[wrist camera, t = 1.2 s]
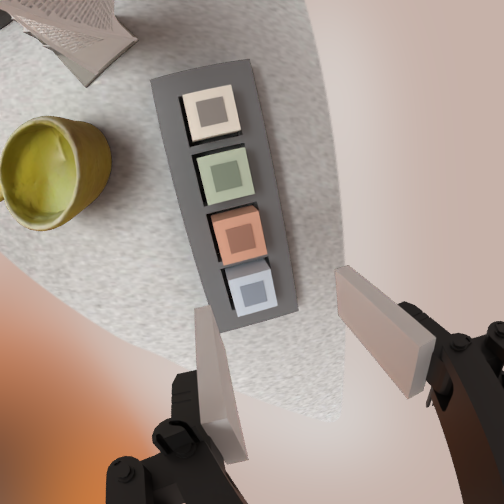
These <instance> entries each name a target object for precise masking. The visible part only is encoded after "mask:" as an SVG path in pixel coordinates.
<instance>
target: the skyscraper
mask: <svg viewBox="0 0 504 504" xmlns="http://www.w3.org/2000/svg"><path fill="white" fill-rule="evenodd" d="M0 9H1V10H4V11H6V12H8V13H9V14H10V15H11V16H12V20H14V21H16V22H18V23H20V24H21V25H22V26H23V32H24V33H26V34H28V35H30V36H32V37H34V38H36V39H38V40H39V41H40V42H41V43H42V44H43V47H46V48H48V49H50V50H52V51H53V52H54V53H55V54H56V55H57V56H58V58H59V59H60V60H61V61H62V62H63V63H64V64H65V65H66V66H67V68H68V69H69V70H70V71H71V72H72V73H73V74H74V75H75V76H76V77H77V79H78V80H79V81H80V82H81V83H82V84H83V85H84V86H85V87H87V86H88V85H89V84H90V83H91V82H92V81H93V80H94V79H95V78H96V77H97V76H98V75H100V74H101V73H102V72H103V71H104V70H105V69H106V68H107V67H108V66H109V65H110V64H111V63H113V62H114V61H115V60H116V59H117V58H118V57H119V56H120V55H122V54H123V53H124V52H125V51H126V50H128V49H129V48H130V47H131V46H132V45H134V44H135V43H136V42H137V41H139V40H138V38H137V37H135V36H134V35H133V34H132V33H131V32H130V31H129V30H128V29H127V28H126V27H125V26H124V25H123V24H122V23H121V22H119V21H118V20H117V19H116V17H115V15H114V0H0Z"/></svg>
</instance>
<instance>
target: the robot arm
mask: <svg viewBox="0 0 504 504" xmlns="http://www.w3.org/2000/svg"><path fill="white" fill-rule="evenodd" d="M11 21H12V16H11V15H10V14H9V13H8V12H6V11H4V10H1V9H0V29H1V28H2V27H4V26H5V25H7V24H8V23H9V22H11ZM335 279H336V291H337V304H338V316H339V317H340V318H341V319H342V320H343V322H344V323H345V324H346V325H347V326H348V327H349V328H350V330H351V331H352V332H353V333H354V335H355V336H356V337H357V338H358V339H359V340H360V342H361V343H362V344H363V345H364V346H365V348H366V349H367V350H368V351H369V353H370V354H371V355H372V356H373V357H374V358H375V360H376V361H377V362H378V363H379V365H380V366H381V367H382V368H383V370H384V371H385V372H386V373H387V374H388V376H389V377H390V378H391V379H392V380H393V382H394V383H395V384H396V385H397V386H398V388H399V389H400V390H401V392H402V393H403V394H404V395H405V397H406V398H407V399H409V398H411V397H413V396H414V395H416V394H418V393H420V392H422V391H423V389H424V386H425V382H426V381H427V382H428V383H429V384H430V385H431V389H430V392H429V396H428V399H427V401H426V407H429V405H430V402H431V400H432V401H433V404H432V406H433V405H434V407H435V409H436V412H437V415H438V418H439V420H440V423H441V426H442V429H443V432H444V435H445V438H446V441H447V444H448V447H449V451H450V454H451V457H452V461H453V464H454V468H455V471H456V475H457V479H458V482H459V486H460V490H461V494H462V499H463V503H464V504H504V371H502V368H503V366H504V322H502V321H496V322H493V323H491V324H490V326H489V327H488V330H487V334H486V335H482V336H480V337H476V338H471V337H470V336H467V335H465V334H461V333H456V334H450V333H449V332H448V331H446V330H445V329H444V328H443V327H441V326H440V325H439V324H438V323H437V322H435V321H434V320H433V319H432V318H429V316H428V315H427V314H425V313H423V312H422V310H420V309H419V308H418V307H416V306H415V305H413V304H410V303H407V302H405V301H404V302H402V303H399V304H396V303H395V302H394V301H392V300H391V299H390V298H389V297H387V296H386V295H385V294H384V293H383V292H381V291H380V290H379V289H378V288H376V287H375V286H374V285H373V284H371V283H370V282H369V281H368V280H366V279H365V278H364V277H363V276H361V275H360V274H359V273H358V272H356V271H355V270H354V269H353V268H351V267H350V266H349V265H347V266H344V267H340V268H337V269H335ZM194 313H195V342H196V363H197V370H194V371H189V372H185V373H181V374H177V376H176V378H175V380H174V381H173V384H172V406H171V408H172V409H171V418H169V419H166V420H164V421H163V422H161V423H160V424H159V425H158V426H157V427H156V428H155V429H154V432H153V435H152V440H153V444H155V446H156V447H157V448H158V449H159V450H160V453H158V454H157V455H155V456H152V457H149V458H147V459H144V460H142V461H139V460H138V459H136V458H134V457H131V456H124V457H120V458H117V459H116V460H114V461H113V462H112V463H111V464H110V466H109V467H108V471H107V477H106V504H183V503H186V504H248V503H247V502H246V500H245V499H244V497H243V496H242V494H241V493H240V491H239V490H238V488H237V487H236V485H235V484H234V482H233V481H232V479H231V478H230V476H229V475H228V473H227V472H226V470H225V465H224V461H225V462H226V463H227V464H232V463H237V462H242V461H246V460H248V455H247V451H246V447H245V442H244V438H243V433H242V429H241V425H240V420H239V416H238V411H237V406H236V401H235V397H234V391H233V386H232V382H231V376H230V371H229V366H228V361H227V356H226V350H225V347H224V344H223V341H222V338H221V336H220V333H219V330H218V327H217V324H216V321H215V318H214V315H213V311H212V308H211V305H207V306H203V307H199V308H196V309H194Z"/></svg>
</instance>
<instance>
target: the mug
mask: <svg viewBox="0 0 504 504" xmlns="http://www.w3.org/2000/svg"><path fill="white" fill-rule="evenodd" d="M111 163H112V160H111V151H110V147H109V145H108V142H107V140H106V138H105V136H104V135H103V133H102V132H101V131H100V130H99V129H98V128H96V127H95V126H93V125H91V124H89V123H86V122H82V121H73V120H69V119H65V118H61V117H54V116H42V117H37V118H33V119H31V120H29V121H27V122H26V123H24V124H22V125H21V126H20V127H18V128H17V129H16V130H15V131H14V132H13V133H12V135H11V136H10V137H9V139H8V140H7V142H6V144H5V146H4V149H3V151H2V154H1V158H0V202H1V201H2V200H5V204H6V207H7V209H8V210H9V212H10V213H11V215H12V216H13V217H14V218H15V219H16V221H17V222H18V223H19V224H21V225H22V226H24V227H26V228H28V229H30V230H36V231H47V230H52V229H55V228H57V227H59V226H61V225H63V224H65V223H66V222H68V221H69V220H71V219H72V218H73V217H75V216H76V215H77V214H78V213H80V212H81V211H82V210H83V209H85V208H86V207H87V206H88V205H89V204H91V203H92V202H93V201H94V200H95V199H96V198H97V197H98V196H99V195H100V193H101V192H102V191H103V189H104V187H105V186H106V184H107V181H108V179H109V176H110V172H111Z"/></svg>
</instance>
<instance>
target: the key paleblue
mask: <svg viewBox="0 0 504 504" xmlns="http://www.w3.org/2000/svg"><path fill="white" fill-rule="evenodd" d="M224 269H225V272H226V276H227V280H228V283H229V287H230V291H231V294H232V298H233V302H234V305H235V309H236V312H237V316H238V317H240V316H244V315H247V314H251V313H254V312H258V311H261V310H265V309H268V308H272V307H275V306H278V304H277V299H276V294H275V289H274V284H273V279H272V274H271V269H270V268H269V266H268V264H267V263H266V261H265V260H264V258H261V259H257V260H253V261H250V262H246V263H242V264H239V265H235V266H231V267H227V268H224Z"/></svg>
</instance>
